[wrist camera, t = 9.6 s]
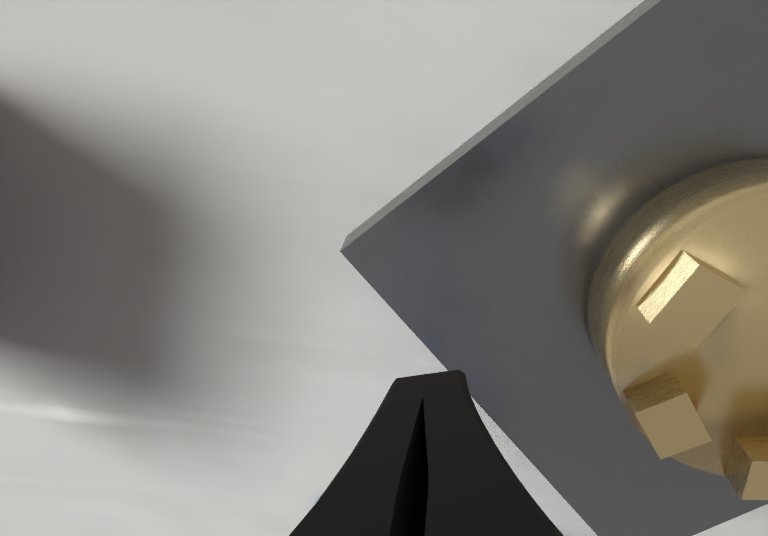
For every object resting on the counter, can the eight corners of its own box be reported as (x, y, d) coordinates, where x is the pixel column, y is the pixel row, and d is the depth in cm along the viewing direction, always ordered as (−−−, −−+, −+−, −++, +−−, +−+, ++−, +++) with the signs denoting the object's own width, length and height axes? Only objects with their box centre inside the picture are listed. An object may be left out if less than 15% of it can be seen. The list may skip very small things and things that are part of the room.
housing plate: (1093, 318, 18) (1156, 345, 16) (613, 533, 24) (625, 568, 22) (874, -182, 13) (933, -212, 12) (346, 235, 19) (338, 253, 17)
